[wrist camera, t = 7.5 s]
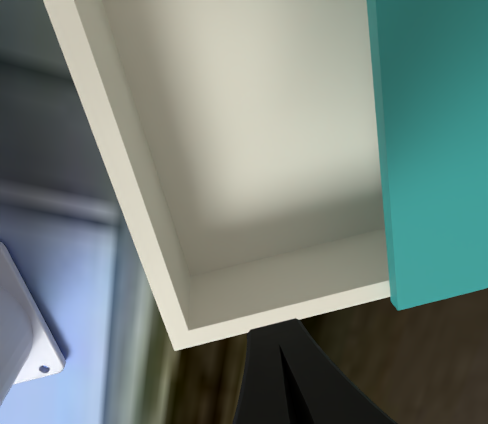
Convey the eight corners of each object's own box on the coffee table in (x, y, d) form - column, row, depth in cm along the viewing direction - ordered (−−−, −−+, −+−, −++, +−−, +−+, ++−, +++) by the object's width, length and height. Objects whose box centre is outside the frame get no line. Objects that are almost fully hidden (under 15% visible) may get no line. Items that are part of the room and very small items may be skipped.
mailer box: (179, 287, 20) (174, 350, 15) (31, -153, 13) (-55, -261, 9) (439, 222, 20) (506, 267, 16) (431, -244, 13) (545, -393, 9)
